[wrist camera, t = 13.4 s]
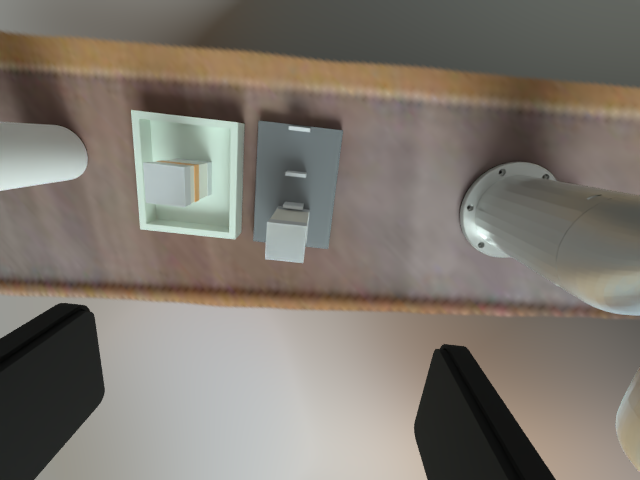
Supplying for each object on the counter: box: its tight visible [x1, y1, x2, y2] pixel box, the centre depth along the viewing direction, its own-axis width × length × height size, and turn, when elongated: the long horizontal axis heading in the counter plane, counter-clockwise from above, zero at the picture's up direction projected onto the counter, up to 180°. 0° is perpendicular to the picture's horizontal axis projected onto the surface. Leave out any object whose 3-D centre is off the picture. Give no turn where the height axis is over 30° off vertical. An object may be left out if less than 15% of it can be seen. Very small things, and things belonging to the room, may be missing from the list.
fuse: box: [265, 206, 310, 263], centre depth 36 cm, size 4×4×8 cm
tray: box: [131, 110, 245, 239], centre depth 38 cm, size 12×14×3 cm
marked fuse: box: [143, 158, 212, 207], centre depth 35 cm, size 4×4×8 cm
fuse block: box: [253, 121, 343, 249], centre depth 38 cm, size 10×15×4 cm, turn 174°
